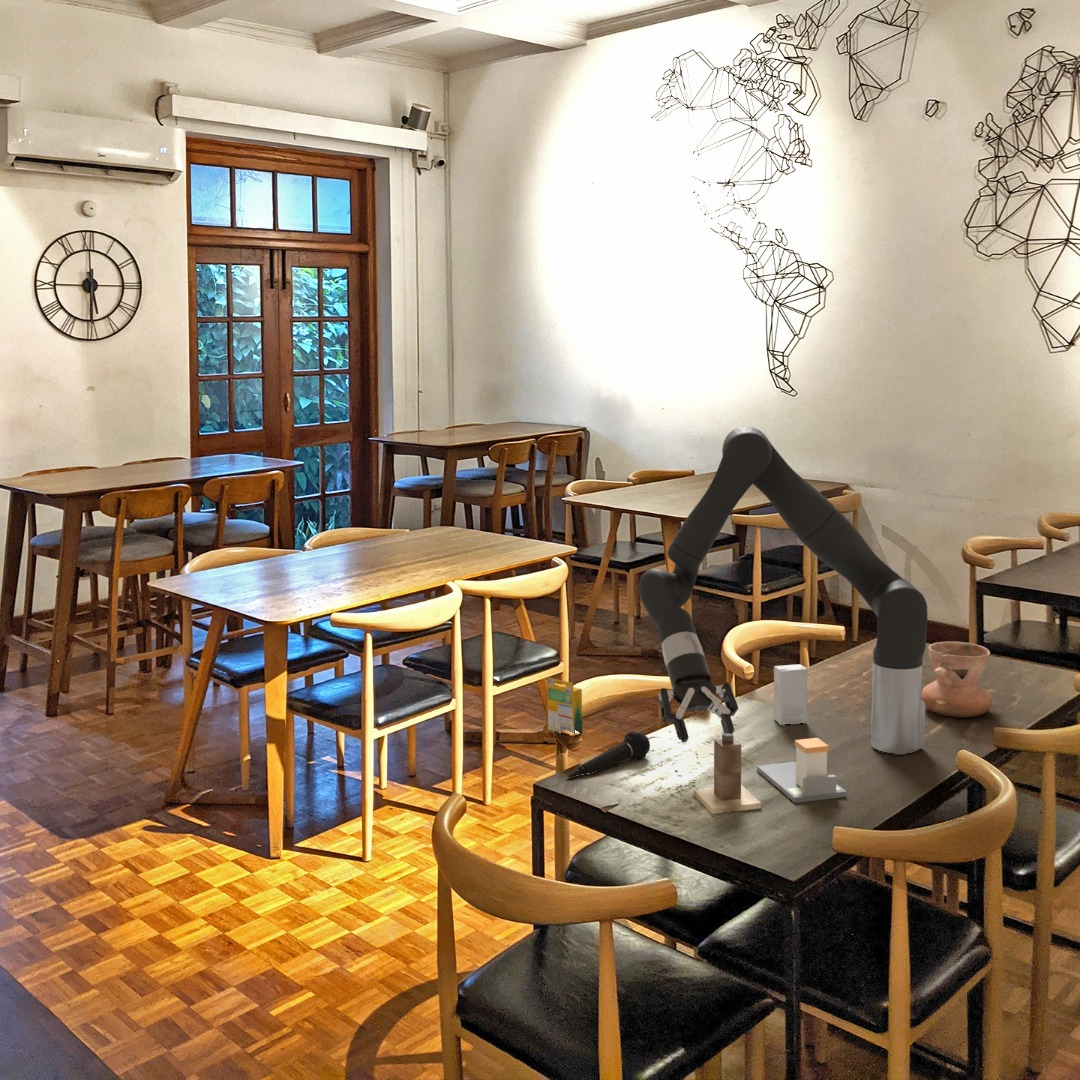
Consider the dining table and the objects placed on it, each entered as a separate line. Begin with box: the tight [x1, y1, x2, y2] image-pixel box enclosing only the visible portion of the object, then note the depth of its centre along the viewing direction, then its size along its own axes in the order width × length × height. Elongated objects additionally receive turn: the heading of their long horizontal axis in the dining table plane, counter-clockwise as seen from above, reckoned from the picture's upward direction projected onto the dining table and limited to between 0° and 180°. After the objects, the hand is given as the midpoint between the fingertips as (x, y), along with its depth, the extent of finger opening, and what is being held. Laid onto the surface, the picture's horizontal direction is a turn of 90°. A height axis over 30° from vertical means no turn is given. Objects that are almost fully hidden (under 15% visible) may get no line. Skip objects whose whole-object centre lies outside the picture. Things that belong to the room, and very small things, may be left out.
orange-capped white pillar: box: [794, 737, 830, 788], centre depth 211 cm, size 4×4×8 cm
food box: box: [546, 676, 583, 738], centre depth 246 cm, size 7×3×12 cm, turn 48°
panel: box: [756, 761, 848, 804], centre depth 216 cm, size 10×16×4 cm, turn 13°
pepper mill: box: [713, 733, 742, 801], centre depth 208 cm, size 4×4×11 cm
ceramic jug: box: [921, 641, 993, 718], centre depth 253 cm, size 18×14×14 cm
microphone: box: [567, 731, 651, 777], centre depth 227 cm, size 6×6×20 cm
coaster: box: [693, 784, 762, 815], centre depth 209 cm, size 9×9×1 cm
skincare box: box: [773, 663, 808, 726], centre depth 249 cm, size 6×4×12 cm
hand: (707, 738), depth 216 cm, fingers open, 8 cm apart
